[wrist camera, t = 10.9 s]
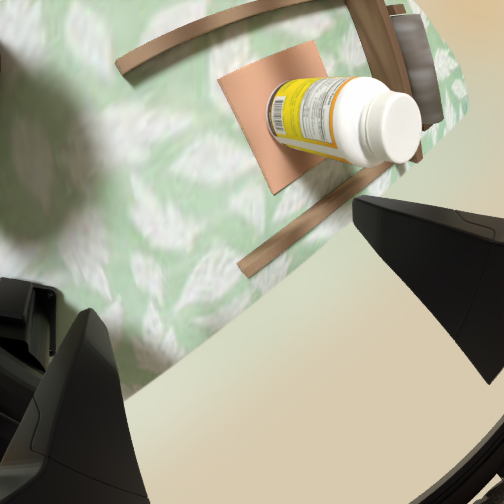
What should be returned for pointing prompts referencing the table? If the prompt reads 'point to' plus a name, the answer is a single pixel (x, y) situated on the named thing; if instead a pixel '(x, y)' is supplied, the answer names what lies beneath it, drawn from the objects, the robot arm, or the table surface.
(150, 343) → the table surface
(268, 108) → the supplement bottle
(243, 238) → the table surface
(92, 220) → the table surface
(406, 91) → the frame
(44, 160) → the table surface
